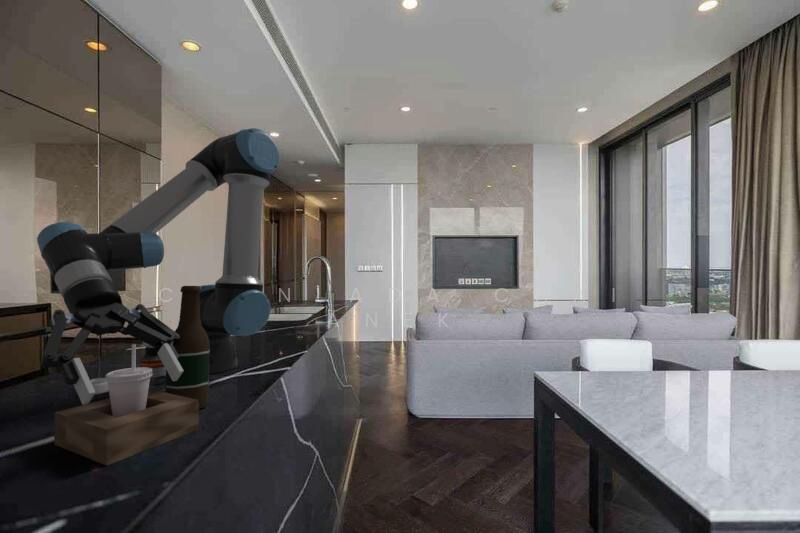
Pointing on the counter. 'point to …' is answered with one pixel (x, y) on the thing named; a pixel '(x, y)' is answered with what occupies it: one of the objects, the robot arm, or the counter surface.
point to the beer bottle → (191, 351)
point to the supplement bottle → (155, 369)
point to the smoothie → (128, 388)
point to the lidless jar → (100, 385)
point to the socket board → (124, 427)
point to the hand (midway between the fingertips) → (138, 386)
